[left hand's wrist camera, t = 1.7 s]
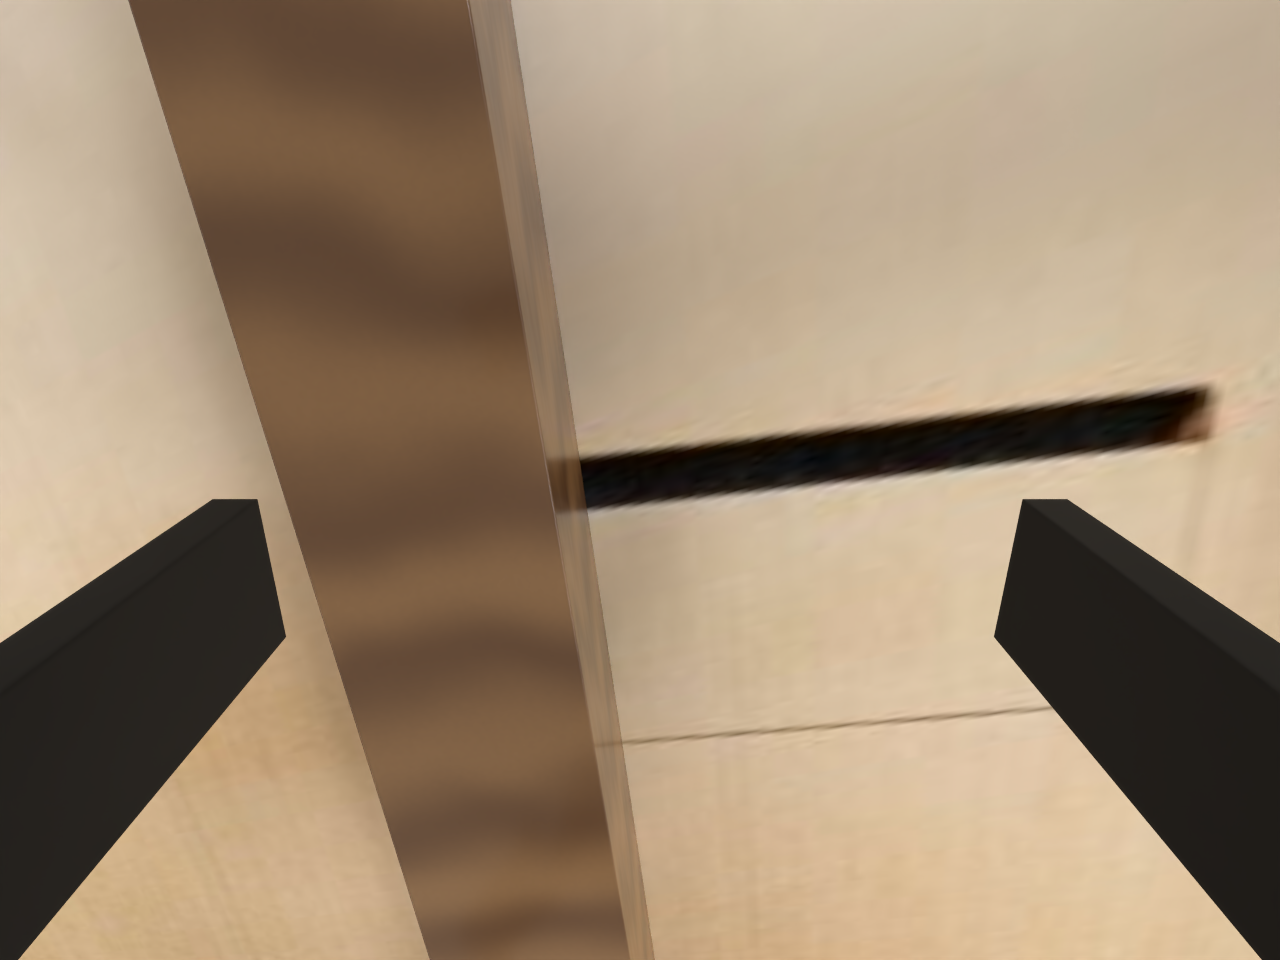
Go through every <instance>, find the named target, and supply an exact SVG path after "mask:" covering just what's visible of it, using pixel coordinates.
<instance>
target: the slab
mask: <svg viewBox="0 0 1280 960" xmlns="http://www.w3.org/2000/svg"><path fill="white" fill-rule="evenodd" d="M128 1H129V4H130V7H131V10H132V14H133V17H134V20H135V23H136V26H137V29H138V33H139V36H140V39H141V42H142V45H143V49H144V52H145V55H146V58H147V61H148V64H149V68H150V71H151V74H152V77H153V80H154V83H155V87H156V90H157V93H158V96H159V99H160V103H161V106H162V109H163V112H164V115H165V118H166V122H167V125H168V128H169V131H170V134H171V138H172V141H173V144H174V147H175V150H176V153H177V157H178V160H179V163H180V166H181V169H182V173H183V176H184V179H185V182H186V185H187V188H188V192H189V195H190V198H191V201H192V204H193V208H194V211H195V214H196V217H197V220H198V223H199V227H200V230H201V233H202V236H203V239H204V243H205V246H206V249H207V252H208V255H209V258H210V262H211V265H212V268H213V271H214V274H215V277H216V281H217V284H218V287H219V290H220V293H221V297H222V300H223V303H224V306H225V309H226V312H227V316H228V319H229V322H230V325H231V328H232V332H233V335H234V338H235V341H236V344H237V347H238V351H239V354H240V357H241V360H242V363H243V367H244V370H245V373H246V376H247V379H248V382H249V386H250V389H251V392H252V395H253V398H254V402H255V405H256V408H257V411H258V414H259V417H260V421H261V424H262V427H263V430H264V433H265V437H266V440H267V443H268V446H269V449H270V452H271V456H272V459H273V462H274V465H275V468H276V472H277V475H278V478H279V481H280V484H281V487H282V491H283V494H284V497H285V500H286V503H287V506H288V510H289V513H290V516H291V519H292V522H293V526H294V529H295V532H296V535H297V538H298V541H299V545H300V548H301V551H302V554H303V557H304V561H305V564H306V567H307V570H308V573H309V576H310V580H311V583H312V586H313V589H314V592H315V596H316V599H317V602H318V605H319V608H320V611H321V615H322V618H323V621H324V624H325V627H326V631H327V634H328V637H329V640H330V643H331V646H332V650H333V653H334V656H335V659H336V662H337V666H338V669H339V672H340V675H341V678H342V681H343V685H344V688H345V691H346V694H347V697H348V700H349V704H350V707H351V710H352V713H353V716H354V720H355V723H356V726H357V729H358V732H359V735H360V739H361V742H362V745H363V748H364V751H365V755H366V758H367V761H368V764H369V767H370V770H371V774H372V777H373V780H374V783H375V786H376V790H377V793H378V796H379V799H380V802H381V805H382V809H383V812H384V815H385V818H386V821H387V825H388V828H389V831H390V834H391V837H392V840H393V844H394V847H395V850H396V853H397V856H398V860H399V863H400V866H401V869H402V872H403V875H404V879H405V882H406V885H407V888H408V891H409V894H410V898H411V901H412V904H413V907H414V910H415V914H416V917H417V920H418V923H419V926H420V929H421V933H422V936H423V939H424V942H425V945H426V949H427V952H428V955H429V958H430V960H654V953H653V946H652V940H651V933H650V926H649V920H648V913H647V906H646V900H645V893H644V886H643V880H642V873H641V866H640V860H639V853H638V846H637V840H636V833H635V826H634V820H633V813H632V806H631V800H630V793H629V786H628V780H627V773H626V766H625V760H624V753H623V746H622V740H621V733H620V726H619V720H618V713H617V706H616V700H615V693H614V686H613V680H612V673H611V666H610V660H609V653H608V646H607V640H606V633H605V626H604V620H603V613H602V606H601V600H600V593H599V587H598V580H597V573H596V567H595V560H594V553H593V547H592V540H591V533H590V527H589V520H588V513H587V507H586V500H585V493H584V487H583V480H582V473H581V467H580V460H579V453H578V447H577V440H576V433H575V427H574V420H573V413H572V407H571V400H570V393H569V387H568V380H567V373H566V367H565V360H564V353H563V347H562V340H561V333H560V327H559V320H558V313H557V307H556V300H555V293H554V287H553V280H552V273H551V267H550V260H549V253H548V247H547V240H546V233H545V227H544V220H543V214H542V207H541V200H540V194H539V187H538V180H537V174H536V167H535V160H534V154H533V147H532V140H531V134H530V127H529V120H528V114H527V107H526V100H525V94H524V87H523V80H522V74H521V67H520V60H519V54H518V47H517V40H516V34H515V27H514V20H513V14H512V7H511V0H128Z"/></svg>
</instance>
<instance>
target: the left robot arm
mask: <svg viewBox="0 0 1280 960" xmlns="http://www.w3.org/2000/svg"><path fill="white" fill-rule="evenodd" d="M285 637H286V635H285V630H284V625H283V620H282V615H281V610H280V606H279V601H278V596H277V591H276V586H275V582H274V577H273V572H272V567H271V562H270V558H269V553H268V548H267V543H266V538H265V533H264V529H263V524H262V519H261V514H260V509H259V505H258V500H257V499H212V500H211V501H209V502H208V503H207V504H205V505H204V506H202V507H201V508H199V509H198V510H196V511H195V512H193V513H192V514H190V515H189V516H187V517H186V518H184V519H183V520H181V521H180V522H178V523H177V524H176V525H174V526H173V527H171V528H170V529H168V530H167V531H165V532H164V533H162V534H161V535H159V536H158V537H156V538H155V539H153V540H152V541H150V542H149V543H147V544H146V545H144V546H143V547H142V548H140V549H139V550H137V551H136V552H134V553H133V554H131V555H130V556H128V557H127V558H125V559H124V560H122V561H121V562H119V563H118V564H116V565H115V566H113V567H112V568H111V569H109V570H108V571H106V572H105V573H103V574H102V575H100V576H99V577H97V578H96V579H94V580H93V581H91V582H90V583H88V584H87V585H85V586H84V587H82V588H81V589H79V590H78V591H77V592H75V593H74V594H72V595H71V596H69V597H68V598H66V599H65V600H63V601H62V602H60V603H59V604H57V605H56V606H54V607H53V608H51V609H50V610H48V611H47V612H46V613H44V614H43V615H41V616H40V617H38V618H37V619H35V620H34V621H32V622H31V623H29V624H28V625H26V626H25V627H23V628H22V629H20V630H19V631H17V632H16V633H14V634H13V635H12V636H10V637H9V638H7V639H6V640H4V641H3V642H1V643H0V960H18V959H19V958H20V957H21V956H22V954H23V953H24V952H25V951H26V950H27V948H28V947H29V946H30V945H31V944H32V942H33V941H34V940H35V939H36V938H37V936H38V935H39V934H40V933H41V932H42V930H43V929H44V928H45V927H46V926H47V924H48V923H49V922H50V921H51V920H52V918H53V917H54V916H55V915H56V913H57V912H58V911H59V910H60V909H61V907H62V906H63V905H64V904H65V903H66V901H67V900H68V899H69V898H70V897H71V895H72V894H73V893H74V892H75V891H76V889H77V888H78V887H79V886H80V885H81V883H82V882H83V881H84V880H85V879H86V877H87V876H88V875H89V874H90V872H91V871H92V870H93V869H94V868H95V866H96V865H97V864H98V863H99V862H100V860H101V859H102V858H103V857H104V856H105V854H106V853H107V852H108V851H109V850H110V848H111V847H112V846H113V845H114V844H115V842H116V841H117V840H118V839H119V838H120V836H121V835H122V834H123V833H124V832H125V830H126V829H127V828H128V827H129V825H130V824H131V823H132V822H133V821H134V819H135V818H136V817H137V816H138V815H139V813H140V812H141V811H142V810H143V809H144V807H145V806H146V805H147V804H148V803H149V801H150V800H151V799H152V798H153V797H154V795H155V794H156V793H157V792H158V791H159V789H160V788H161V787H162V786H163V784H164V783H165V782H166V781H167V780H168V778H169V777H170V776H171V775H172V774H173V772H174V771H175V770H176V769H177V768H178V766H179V765H180V764H181V763H182V762H183V760H184V759H185V758H186V757H187V756H188V754H189V753H190V752H191V751H192V750H193V748H194V747H195V746H196V745H197V744H198V742H199V741H200V740H201V739H202V737H203V736H204V735H205V734H206V733H207V731H208V730H209V729H210V728H211V727H212V725H213V724H214V723H215V722H216V721H217V719H218V718H219V717H220V716H221V715H222V713H223V712H224V711H225V710H226V709H227V707H228V706H229V705H230V704H231V703H232V701H233V700H234V699H235V698H236V696H237V695H238V694H239V693H240V692H241V690H242V689H243V688H244V687H245V686H246V684H247V683H248V682H249V681H250V680H251V678H252V677H253V676H254V675H255V674H256V672H257V671H258V670H259V669H260V668H261V666H262V665H263V664H264V663H265V662H266V660H267V659H268V658H269V657H270V656H271V654H272V653H273V652H274V651H275V649H276V648H277V647H278V646H279V645H280V643H281V642H282V641H283V640H284V639H285ZM994 637H995V639H996V640H997V641H998V642H999V643H1000V645H1001V646H1002V647H1003V648H1004V649H1005V651H1006V652H1007V653H1008V654H1009V656H1010V657H1011V658H1012V659H1013V660H1014V662H1015V663H1016V664H1017V665H1018V666H1019V668H1020V669H1021V670H1022V671H1023V672H1024V674H1025V675H1026V676H1027V677H1028V678H1029V680H1030V681H1031V682H1032V683H1033V684H1034V686H1035V687H1036V688H1037V689H1038V690H1039V692H1040V693H1041V694H1042V695H1043V696H1044V698H1045V699H1046V700H1047V701H1048V703H1049V704H1050V705H1051V706H1052V707H1053V709H1054V710H1055V711H1056V712H1057V713H1058V715H1059V716H1060V717H1061V718H1062V719H1063V721H1064V722H1065V723H1066V724H1067V725H1068V727H1069V728H1070V729H1071V730H1072V731H1073V733H1074V734H1075V735H1076V736H1077V737H1078V739H1079V740H1080V741H1081V742H1082V744H1083V745H1084V746H1085V747H1086V748H1087V750H1088V751H1089V752H1090V753H1091V754H1092V756H1093V757H1094V758H1095V759H1096V760H1097V762H1098V763H1099V764H1100V765H1101V766H1102V768H1103V769H1104V770H1105V771H1106V772H1107V774H1108V775H1109V776H1110V777H1111V778H1112V780H1113V781H1114V782H1115V783H1116V784H1117V786H1118V787H1119V788H1120V789H1121V791H1122V792H1123V793H1124V794H1125V795H1126V797H1127V798H1128V799H1129V800H1130V801H1131V803H1132V804H1133V805H1134V806H1135V807H1136V809H1137V810H1138V811H1139V812H1140V813H1141V815H1142V816H1143V817H1144V818H1145V819H1146V821H1147V822H1148V823H1149V824H1150V825H1151V827H1152V828H1153V829H1154V830H1155V832H1156V833H1157V834H1158V835H1159V836H1160V838H1161V839H1162V840H1163V841H1164V842H1165V844H1166V845H1167V846H1168V847H1169V848H1170V850H1171V851H1172V852H1173V853H1174V854H1175V856H1176V857H1177V858H1178V859H1179V860H1180V862H1181V863H1182V864H1183V865H1184V866H1185V868H1186V869H1187V870H1188V871H1189V873H1190V874H1191V875H1192V876H1193V877H1194V879H1195V880H1196V881H1197V882H1198V883H1199V885H1200V886H1201V887H1202V888H1203V889H1204V891H1205V892H1206V893H1207V894H1208V895H1209V897H1210V898H1211V899H1212V900H1213V901H1214V903H1215V904H1216V905H1217V906H1218V907H1219V909H1220V910H1221V911H1222V912H1223V913H1224V915H1225V916H1226V917H1227V918H1228V920H1229V921H1230V922H1231V923H1232V924H1233V926H1234V927H1235V928H1236V929H1237V930H1238V932H1239V933H1240V934H1241V935H1242V936H1243V938H1244V939H1245V940H1246V941H1247V942H1248V944H1249V945H1250V946H1251V947H1252V948H1253V950H1254V951H1255V952H1256V953H1257V954H1258V956H1259V957H1260V958H1261V959H1262V960H1280V643H1279V642H1277V641H1276V640H1274V639H1273V638H1271V637H1270V636H1268V635H1267V634H1266V633H1264V632H1263V631H1261V630H1260V629H1258V628H1257V627H1255V626H1254V625H1252V624H1251V623H1249V622H1248V621H1246V620H1245V619H1243V618H1242V617H1240V616H1239V615H1237V614H1236V613H1234V612H1233V611H1232V610H1230V609H1229V608H1227V607H1226V606H1224V605H1223V604H1221V603H1220V602H1218V601H1217V600H1215V599H1214V598H1212V597H1211V596H1209V595H1208V594H1206V593H1205V592H1203V591H1202V590H1201V589H1199V588H1198V587H1196V586H1195V585H1193V584H1192V583H1190V582H1189V581H1187V580H1186V579H1184V578H1183V577H1181V576H1180V575H1178V574H1177V573H1175V572H1174V571H1172V570H1171V569H1169V568H1168V567H1167V566H1165V565H1164V564H1162V563H1161V562H1159V561H1158V560H1156V559H1155V558H1153V557H1152V556H1150V555H1149V554H1147V553H1146V552H1144V551H1143V550H1141V549H1140V548H1138V547H1137V546H1136V545H1134V544H1133V543H1131V542H1130V541H1128V540H1127V539H1125V538H1124V537H1122V536H1121V535H1119V534H1118V533H1116V532H1115V531H1113V530H1112V529H1110V528H1109V527H1107V526H1106V525H1104V524H1103V523H1102V522H1100V521H1099V520H1097V519H1096V518H1094V517H1093V516H1091V515H1090V514H1088V513H1087V512H1085V511H1084V510H1082V509H1081V508H1079V507H1078V506H1076V505H1075V504H1073V503H1072V502H1071V501H1069V500H1068V499H1023V500H1022V505H1021V509H1020V514H1019V519H1018V524H1017V529H1016V533H1015V538H1014V543H1013V548H1012V553H1011V558H1010V562H1009V567H1008V572H1007V577H1006V582H1005V586H1004V591H1003V596H1002V601H1001V606H1000V610H999V615H998V620H997V625H996V630H995V635H994Z"/></svg>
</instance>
